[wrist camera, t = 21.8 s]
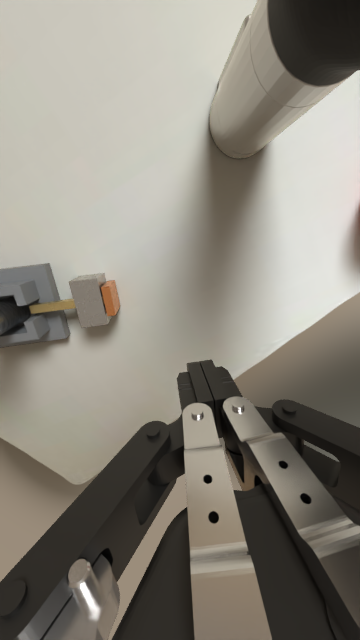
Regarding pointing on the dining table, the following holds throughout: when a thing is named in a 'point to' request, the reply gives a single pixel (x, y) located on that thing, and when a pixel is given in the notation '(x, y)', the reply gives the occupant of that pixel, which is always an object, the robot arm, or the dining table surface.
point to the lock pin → (108, 296)
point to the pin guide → (89, 300)
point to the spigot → (12, 314)
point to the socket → (28, 290)
